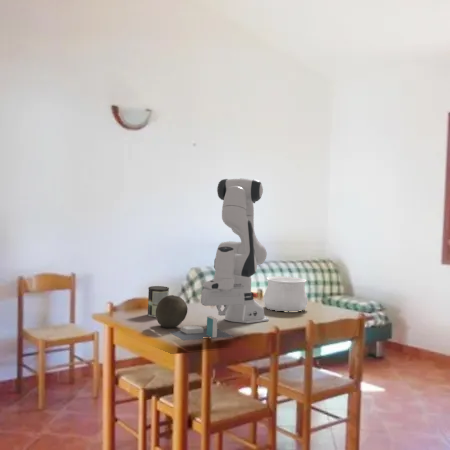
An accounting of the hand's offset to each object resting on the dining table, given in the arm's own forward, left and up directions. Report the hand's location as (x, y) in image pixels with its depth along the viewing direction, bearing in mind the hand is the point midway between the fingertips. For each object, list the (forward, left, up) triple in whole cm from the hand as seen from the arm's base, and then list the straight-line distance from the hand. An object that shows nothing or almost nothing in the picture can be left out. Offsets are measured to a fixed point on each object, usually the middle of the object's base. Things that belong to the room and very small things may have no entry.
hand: (222, 315), depth 279 cm
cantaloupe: (+15, -22, -10) cm, 28 cm away
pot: (-65, -49, -10) cm, 83 cm away
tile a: (+6, -9, -8) cm, 13 cm away
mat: (+8, -5, -10) cm, 13 cm away
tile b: (+5, 0, -9) cm, 10 cm away
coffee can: (+10, -51, -10) cm, 53 cm away
